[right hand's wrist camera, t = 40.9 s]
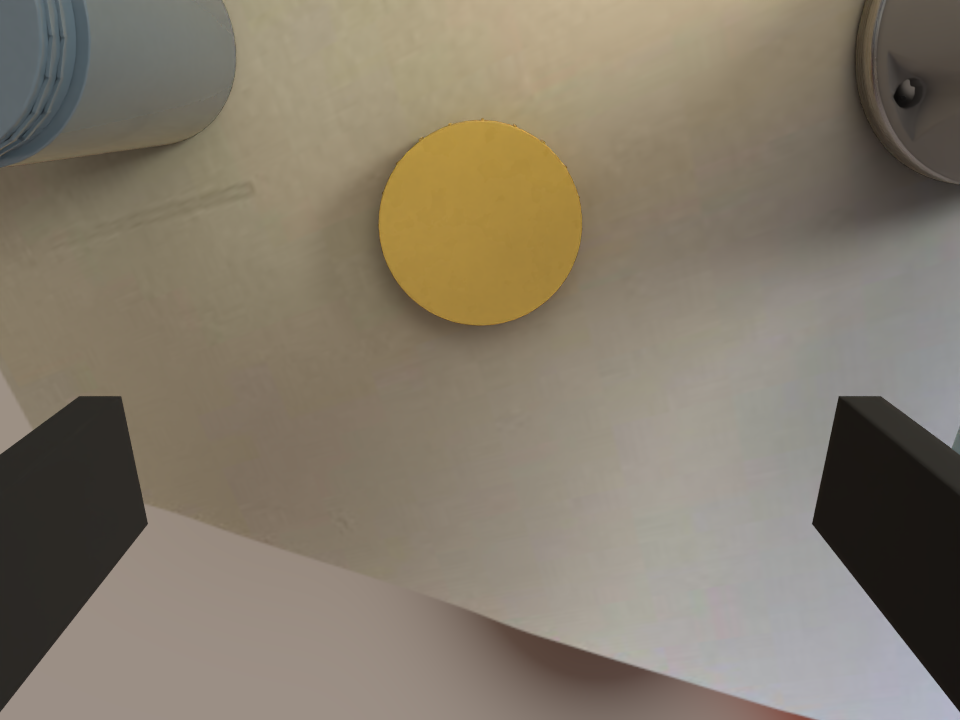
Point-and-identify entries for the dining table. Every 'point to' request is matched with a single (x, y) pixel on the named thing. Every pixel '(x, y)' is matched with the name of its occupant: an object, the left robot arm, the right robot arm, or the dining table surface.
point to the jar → (109, 75)
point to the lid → (480, 222)
